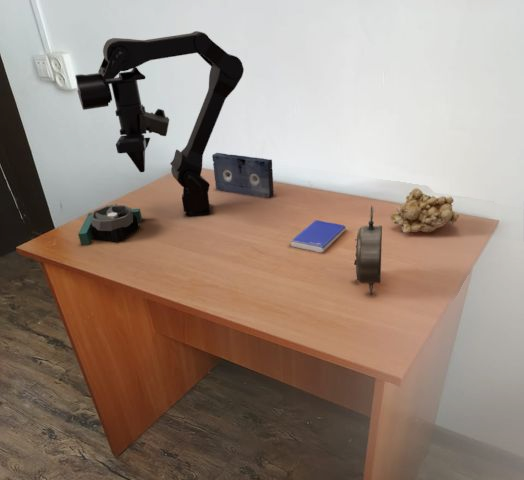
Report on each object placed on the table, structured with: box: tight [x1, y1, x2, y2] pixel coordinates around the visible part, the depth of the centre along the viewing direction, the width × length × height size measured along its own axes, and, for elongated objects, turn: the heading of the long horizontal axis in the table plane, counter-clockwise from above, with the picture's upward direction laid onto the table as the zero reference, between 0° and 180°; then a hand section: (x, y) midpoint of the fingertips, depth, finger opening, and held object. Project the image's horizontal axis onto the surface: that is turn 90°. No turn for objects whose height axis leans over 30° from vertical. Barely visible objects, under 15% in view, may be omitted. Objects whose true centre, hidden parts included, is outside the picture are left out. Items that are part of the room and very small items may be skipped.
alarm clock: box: [353, 205, 383, 296], centre depth 96 cm, size 11×5×16 cm, turn 168°
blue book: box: [290, 220, 346, 253], centre depth 117 cm, size 2×8×12 cm
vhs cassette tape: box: [211, 152, 274, 199], centre depth 141 cm, size 18×3×10 cm, turn 59°
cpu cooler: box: [90, 203, 140, 243], centre depth 125 cm, size 10×6×10 cm
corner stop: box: [77, 208, 143, 246], centre depth 127 cm, size 14×13×3 cm
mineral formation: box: [388, 187, 460, 234], centre depth 117 cm, size 8×13×15 cm
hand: (142, 171), depth 124 cm, fingers closed
